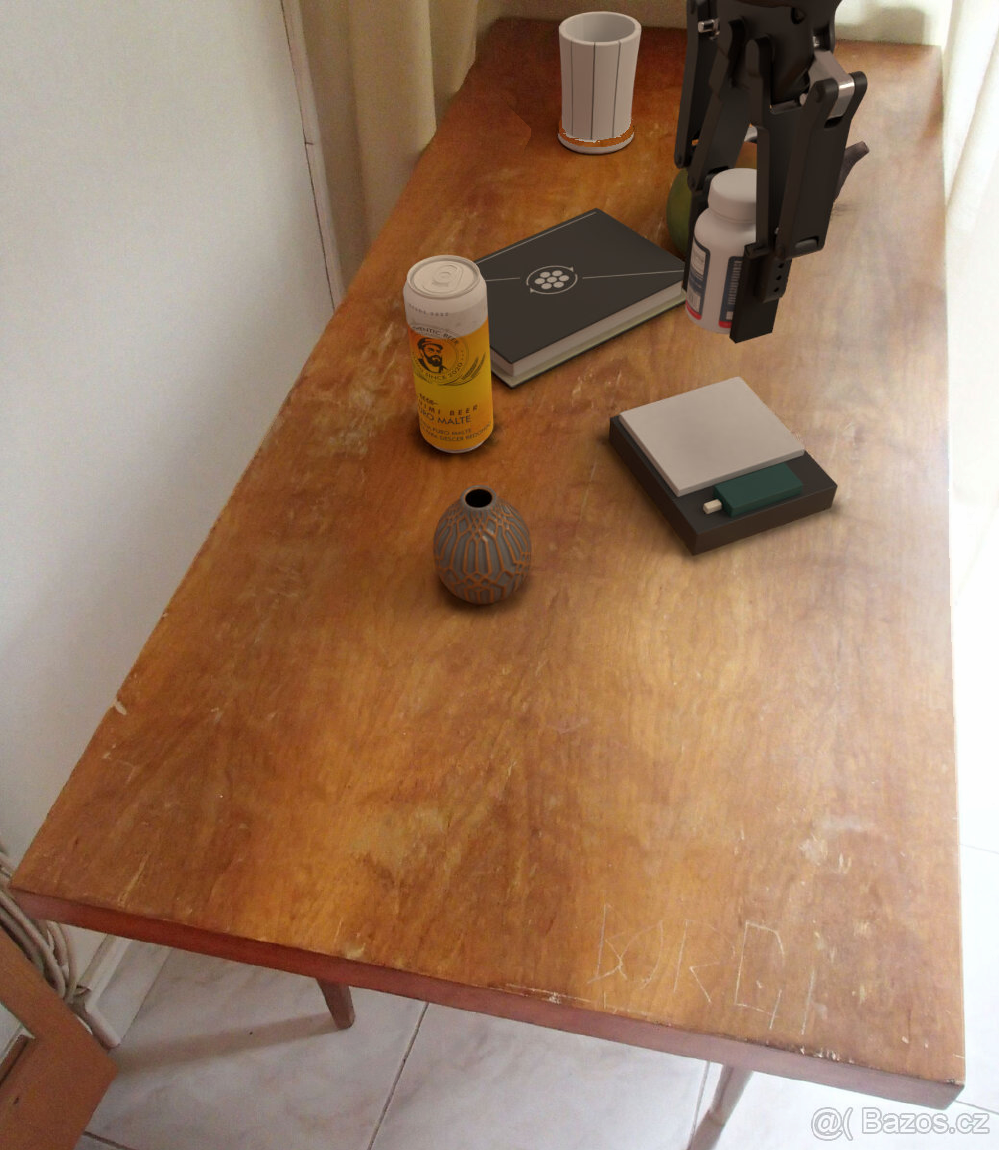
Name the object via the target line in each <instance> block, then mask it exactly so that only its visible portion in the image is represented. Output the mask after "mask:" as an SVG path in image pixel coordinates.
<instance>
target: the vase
mask: <svg viewBox="0 0 999 1150" xmlns="http://www.w3.org/2000/svg"><path fill="white" fill-rule="evenodd" d="M532 548H533V547H532V538H531V534H530V530H529V528H528V525H527V523H526V520H525V519H524V517H523V515H522V514H521V513H520V511H519V510H518V509H517V508H516V507H515V506H514V505H513V504H512V503H511V502H509V501H508V500H506V499H505V498H503V497H501V496H499V495H498V494H497V492H496V491H495V490H494V489H493V488H492V487H490V486H488V485H483V484H475V485H472V486H469V487H467V488H465V489H464V490H463V491H462V493H461V495H460V496H459V498H458V499H457V500H455V501H453V502H452V503H451V504H450V505H449V506H448V507H447V508H446V509H445V510H444V512H443V513H442V514H441V516H440V518H439V519H438V522H437V524H436V526H435V530H434V534H433V538H432V557H433V562H434V565H435V569H436V572H437V574H438V576H439V578H440V580H441V581H442V583H443V584H444V586H445V587H446V588H447V589H448V590H449V591H450V592H451V593H452V594H453V595H454V596H456V597H457V598H459V599H461V600H463V601H466V602H469V603H472V604H477V605H489V604H494V603H498V602H500V601H503V600H504V599H507V598H508V597H510V596H511V595H513V594H514V593H516V591H517V590H519V588H520V587H521V585H522V584H523V582H524V581H525V579H526V577H527V574H528V572H529V569H530V566H531V562H532Z"/></svg>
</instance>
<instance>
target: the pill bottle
mask: <svg viewBox="0 0 999 1150" xmlns="http://www.w3.org/2000/svg"><path fill="white" fill-rule="evenodd" d="M708 204H709V208H707V209H706V210H705V211H704V212H703V213H702V214H701V215H700V216H699V218H698V220H697V222H696V225H695V230H694V238H693V246H692V254H691V262H690V271H689V279H688V287H687V296H686V302H685V313H686V315H687V317H688V319H689V320H690V321H691V322H692V323H693V324H694V325H696V326H697V327H699V328H700V329H702V330H705V331H707V332H711V333H715V334H718V335H719V334H720V335H730V329H731V323H732V317H733V312H734V306H735V300H736V294H737V288H738V283H739V277H740V271H741V265H742V260H743V254H744V245H746V244H750V243H754V242H755V240H756V170H755V169H749V168H735V169H729V170H725V171H723V172H720V173H719V174H717V175H716V176H715V177H714V178H713V179H712V181H711V185H710V191H709V196H708ZM777 229H778V228H777Z"/></svg>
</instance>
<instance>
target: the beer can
mask: <svg viewBox="0 0 999 1150" xmlns="http://www.w3.org/2000/svg"><path fill="white" fill-rule="evenodd" d="M472 261H473V260H470V259H469V258H466V257H463V256H459V255H455V254H454V255H453V254H452V255H451V254H442V255H434V256H429V257H426V258H423V259H422V260H420V261H418V262H416V263H415V264H413V266H411V268H410V269H409V270H408V272H407V275H406V281H405V283H404V284H403V285H404V286H403V289H402V296H403V302H404V311H405V312H404V313H405V319H406V326H407V335H408V342H409V351H410V359H411V365H412V373H413V374H412V375H413V381H414V382H413V383H414V389H415V390H414V391H415V395H416V396H415V398H416V404H417V413H418V414H417V415H418V421H419V429H420V433H421V435H422V437H423V438H424V440H425V441H426V442H428V443H429V444H430V445H432V446H433V447H434V448H436V449H437V450H440V451H442V452H446V453H451V454H459V453H460V454H461V453H466V452H471V451H472V450H475V449H476V448H478V447H479V446H481V445H482V444H483V443H484V442H485V441H486V440H487V439H488V438H489V436H490V435H491V434H492V431H493V429H494V408H493V388H492V386H493V385H492V372H491V366H490V347H489V328H488V309H487V290H486V283H485V280H484V279H483V277H482V276H481V274H480V270H479V268H478V267H477V265H476V264H475V263H473V262H472Z"/></svg>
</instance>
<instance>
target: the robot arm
mask: <svg viewBox="0 0 999 1150" xmlns="http://www.w3.org/2000/svg"><path fill="white" fill-rule="evenodd" d="M842 2H843V0H686V2H685V11H686V36H687V41H686V52H685V59H684V67H683V77H682V84H681V93H680V101H679V108H678V116H677V117H678V118H677V126H676V127H677V128H676V133H675V143H674V149H673V150H674V151H673V163H674V165H675V167H676V168H677V169H678V170H681V169H682V168H685V169H686V171H687V172H688V176H687V184H688V187H689V189H690V191H691V192H692V196H691V204H690V213H689V221H688V230H689V235H688V243H687V251H686V256H685V261H684V262H685V267H684V275H683V281H682V284H681V287H682V288H683V289H684V290H685V292H686V293H687V287H688V279H689V271H690V262H691V254H692V246H693V238H694V230H695V225H696V222H697V220H698V218H699V216H700V215H701V214H702V213H703V212H704V211H705V210H706V209H707V208H709V204H708V196H709V191H710V185H711V181H712V179H713V178H714V177H715V176H716V175H717V174H719V173H720V172H723V171H725V170H729V169H735V165H736V162H737V160H738V157H739V154H740V151H741V148H742V145H743V142H744V140H745V137H746V134H747V131H748V128H749V127H750V125H751V127H752V126H754V127H755V128H756V129H757V169H756V240H755V242H754V243H750V244H746V245H744V254H743V260H742V265H741V271H740V277H739V283H738V288H737V294H736V300H735V306H734V312H733V317H732V323H731V329H730V334H728V338H729V339H730V340H731V341H732V342H733V343H734V344H735V345H737V344H739V343H743V342H747V341H749V340H752V339H756V338H760V337H763V336H766V335H769V334H772V333H773V331H774V327H775V321H776V317H777V313H778V309H779V308H778V307H779V303H780V299H782V298H783V297H784V295H785V293H786V291H787V286H788V282H789V277H790V273H791V268H792V263H793V260H794V259H797V258H800V257H803V256H806V255H810V254H813V253H817V252H820V251H822V250H824V248H825V245H826V240H827V236H828V230H829V225H830V221H831V217H832V212H833V208H834V203H835V202H834V199H835V194H836V190H837V185H838V181H839V176H840V171H841V167H842V162H843V158H844V153H845V149H846V148H847V143H848V139H849V135H850V130H851V125H852V121H853V119H854V117H855V115H856V113H857V111H858V109H859V107H860V105H861V103H862V101H863V99H864V97H865V95H866V93H867V90H868V83H869V82H868V77H867V76H866V73H865V72H864V71H862V70H856V71H853V72H852V71H851V72H848V73H847V72H846V71H845V69H844V68H843V67H842V65H841V64H840V63H839V61H838V60H837V59H836V56H834V52H835V49H836V41H837V40H836V39H837V38H836V22H835V21H836V12H837V10H838V8H839V6H840V4H841V3H842ZM793 100H794V101H793ZM789 101H793V102H792V103H790V104H786V105H781V106H777V107H773V108H771V105H777V104H781V103H785V102H789ZM694 141H697V142H696V143H695V144H693V142H694ZM777 228H778V229H777Z"/></svg>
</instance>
